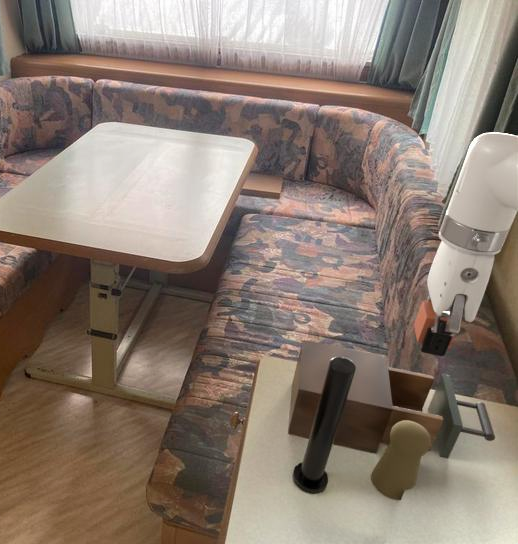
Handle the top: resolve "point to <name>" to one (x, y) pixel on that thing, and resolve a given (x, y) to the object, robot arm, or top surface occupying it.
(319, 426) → the stand
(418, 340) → the block
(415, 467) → the cork
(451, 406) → the drawer
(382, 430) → the cabinet
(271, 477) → the top surface
